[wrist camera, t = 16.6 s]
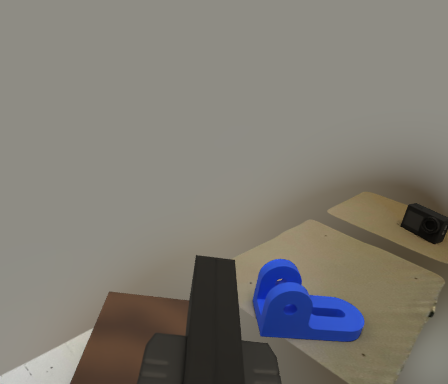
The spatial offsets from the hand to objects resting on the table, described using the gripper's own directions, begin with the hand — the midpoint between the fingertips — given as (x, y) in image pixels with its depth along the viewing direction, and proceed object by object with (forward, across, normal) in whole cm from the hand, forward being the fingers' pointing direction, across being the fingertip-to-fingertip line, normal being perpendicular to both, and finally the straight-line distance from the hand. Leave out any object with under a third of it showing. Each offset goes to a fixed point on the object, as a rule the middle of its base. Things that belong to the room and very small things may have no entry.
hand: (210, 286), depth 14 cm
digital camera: (+77, +62, -32) cm, 104 cm away
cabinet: (+20, -4, -32) cm, 38 cm away
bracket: (+36, +21, -32) cm, 53 cm away
